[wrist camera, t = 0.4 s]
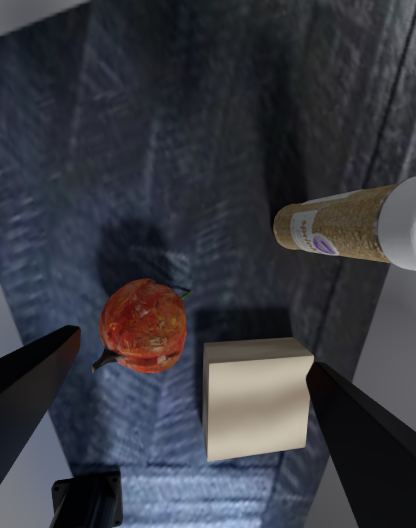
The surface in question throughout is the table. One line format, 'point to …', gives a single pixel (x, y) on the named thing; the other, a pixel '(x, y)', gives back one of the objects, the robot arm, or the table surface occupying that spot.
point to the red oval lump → (143, 327)
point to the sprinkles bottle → (355, 224)
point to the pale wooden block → (254, 396)
